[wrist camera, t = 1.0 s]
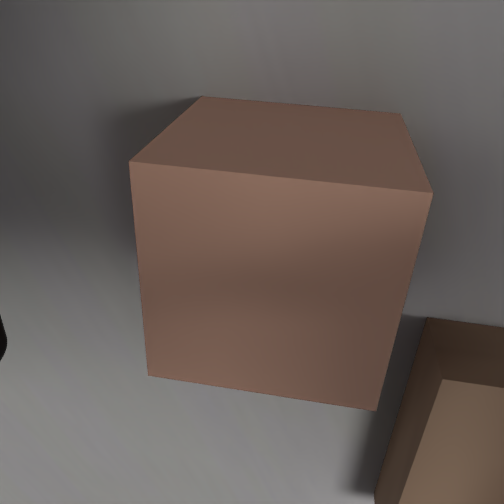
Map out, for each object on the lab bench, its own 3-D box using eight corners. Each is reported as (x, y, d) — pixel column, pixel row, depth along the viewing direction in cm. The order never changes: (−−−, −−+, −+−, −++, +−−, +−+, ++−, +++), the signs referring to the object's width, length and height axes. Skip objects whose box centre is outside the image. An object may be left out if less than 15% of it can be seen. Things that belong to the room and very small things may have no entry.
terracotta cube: (400, 112, 12) (433, 193, 7) (365, 280, 14) (376, 411, 10) (202, 95, 12) (128, 161, 8) (203, 259, 15) (148, 375, 11)
